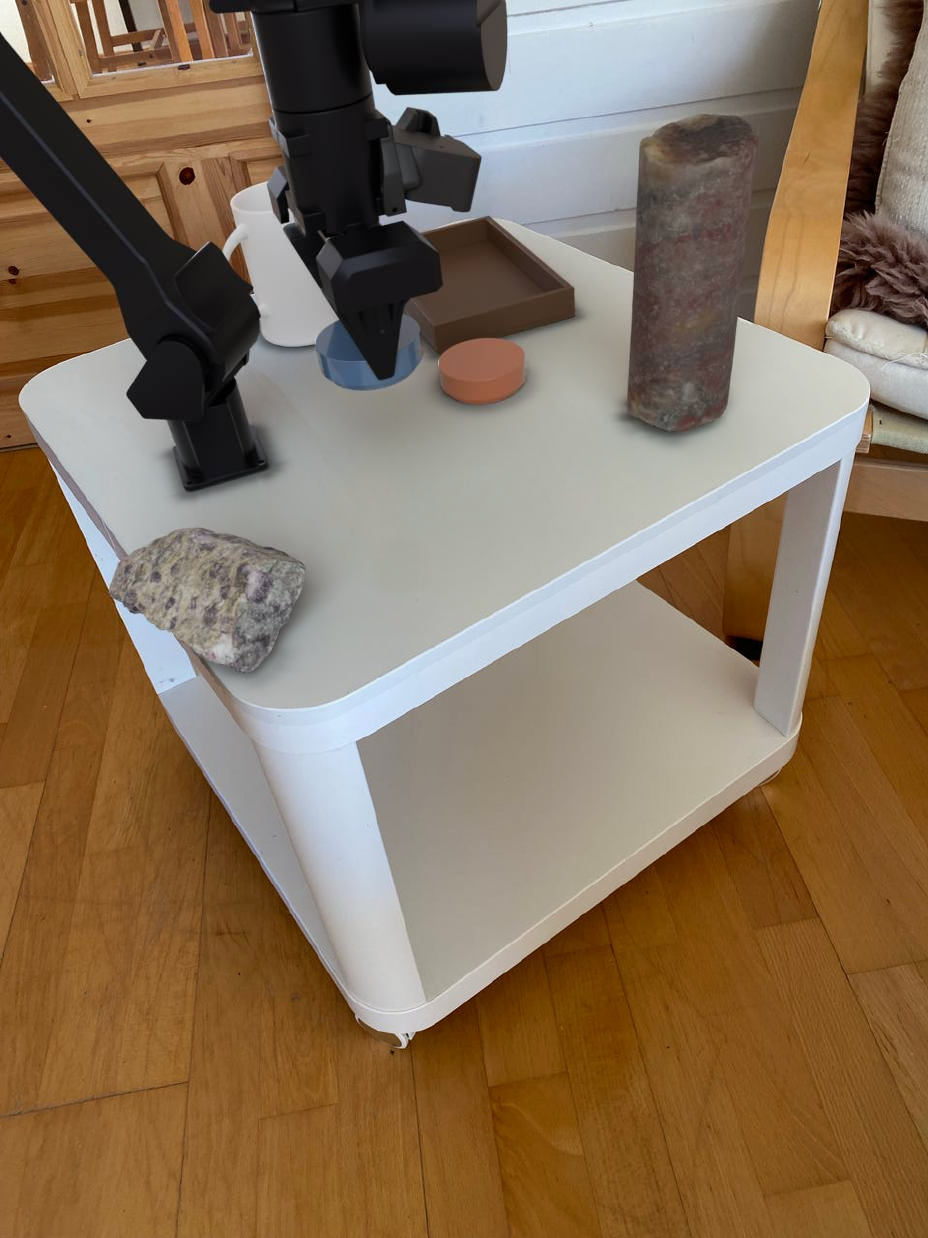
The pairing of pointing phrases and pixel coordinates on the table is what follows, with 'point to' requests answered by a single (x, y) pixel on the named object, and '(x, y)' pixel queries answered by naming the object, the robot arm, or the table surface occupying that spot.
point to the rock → (212, 593)
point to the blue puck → (350, 366)
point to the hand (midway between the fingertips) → (370, 354)
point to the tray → (487, 287)
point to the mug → (277, 272)
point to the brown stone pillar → (689, 267)
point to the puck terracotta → (482, 370)
